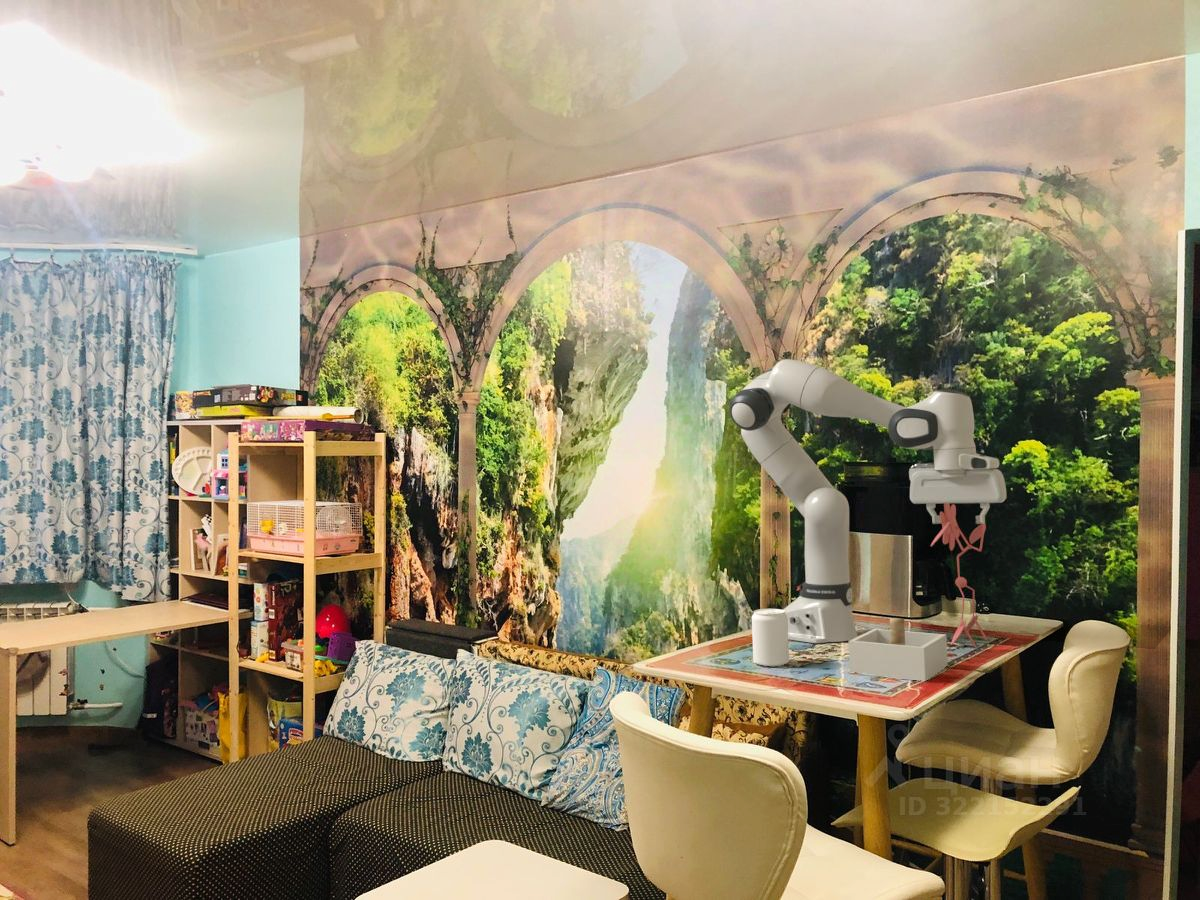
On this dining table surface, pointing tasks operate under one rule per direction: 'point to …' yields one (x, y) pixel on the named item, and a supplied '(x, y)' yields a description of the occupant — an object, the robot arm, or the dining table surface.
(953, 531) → the pink stick figurine
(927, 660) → the peg box
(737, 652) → the dining table surface
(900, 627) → the peg
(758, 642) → the beverage can
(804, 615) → the robot arm
